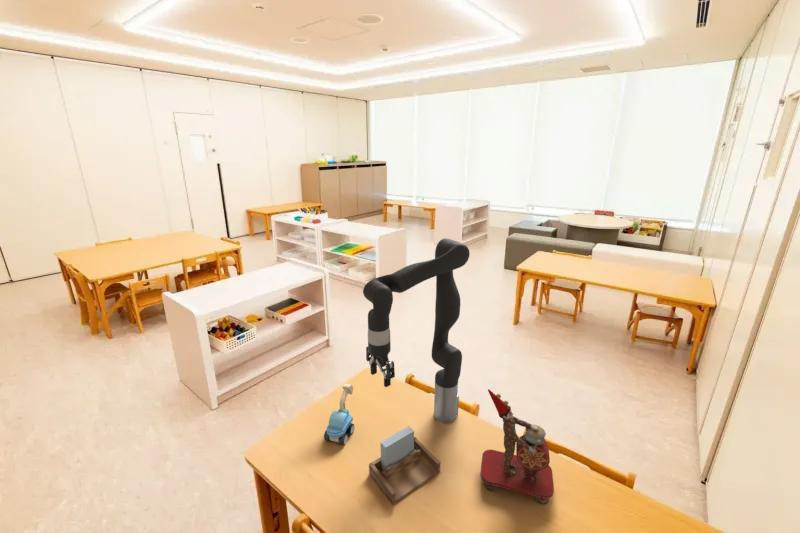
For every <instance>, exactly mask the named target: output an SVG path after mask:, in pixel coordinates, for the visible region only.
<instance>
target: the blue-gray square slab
mask: <svg viewBox="0 0 800 533" xmlns="http://www.w3.org/2000/svg"><path fill="white" fill-rule="evenodd" d="M414 437H415V431H414V430H413V428H412V427H410V426H409V425H408V426H406V427H405V428H402V429H401V430H400V431H397V432H396V433H394V434H391V435H390V436H389V437H387V438H385V439H384V440H381V441H380V457H381V469H382V470H383V471H384V470H386V469H385V468H387V467H388V466H390V465H392V464H396V463H397V462H399V461H400V460H402V459H404V458H405V457H407V456H409V453H411V452H413V451H414Z"/></svg>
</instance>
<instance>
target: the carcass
mask: <svg viewBox="0 0 800 533" xmlns="http://www.w3.org/2000/svg"><path fill="white" fill-rule="evenodd" d="M385 469H386V470H384V471H383V470H382V469H381V456H380V457H378V458H377V459H375V460H373V461H372V462H370V463H369V464H368V474H369V475H370V477H371V478H372V479H373V481H374V482H375V483H376V485H377V486H378V488H379V489H380V490H381V492H382V493H383V494H384V495H385V497H386V498H387V500H388V501H389V502H390V504H391V505H392V506H393V505H396V504H397V503H398V502H399V501H401V500H402V499H403V498H405V497H406V496H408V495H409V494H411V493H412V492H413V491H416V489H418V488H420V487H421V486H422V485H424V484H426V482H428V481H429V480H431V479H433V478H434V477H435V476H437V475H438V474H440V473H441V462H440V460H439V459H437V457H436V456H434V455H433V453H432V452H430V450H429V449H428V448H427V447H425V445H424V444H423V443H422V442H420V440H419V439H418V438H417V437H416V436H414V451H413V452H411V453H409V456H407V457H405V458H404V459H402V460H400V461H399V462H397V463H396V464H392V465H390V466H388V467H387V468H385Z"/></svg>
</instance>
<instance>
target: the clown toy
mask: <svg viewBox="0 0 800 533" xmlns="http://www.w3.org/2000/svg"><path fill="white" fill-rule="evenodd" d="M487 392H488V395H489V396H490V398H491V400H492V402H493V406H495V410H496V411H497V414H498V416H499V418H501V419H502V422H503V424H502V426H503V427H502V428H503V429H502V430H503V435H504V437H503V446H504V451H500V450H494V449H486V450H484V451H483V452H482V456H481V466H480V475H479V476H480V477H481V480H482V481H483V482H484V483H483V487H484V489H486V490H487V491H490V492H493V491H495V490H496V488H497V487H500V488H503V489H507V490H512V491H516V492H518V493H523V494H527V495H530V496H535V501H536V502H537V504H540V505H547V504H548V503H549V499H550V498H552V497H553V495H554V492H555V487H554V486H555V485H554V477H553V475H554V474H553V470H552V467H551V466H550V460H551V458H550V450H549V445H548V442H547V441H546V439H545V438H546V435H547V434H546V430H545V429H544V428H543V427H541V426H540V425H537V424H532V423H529V422H527V421H525V420H522V419H520V418H518V417H516V416H513V415H514V413H513V412H512V408H511V405H509V401H508V400H504V401H503V399H501V397H502V396H501V394H500V393H497V394H495V393H494V392H493V391H491V390H490V389H487ZM516 425H519V426H521V427H524V428H525V434H523V435H521V436H518V434H517V430H516ZM515 450H516V451H515Z"/></svg>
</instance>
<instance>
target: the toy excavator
mask: <svg viewBox="0 0 800 533" xmlns="http://www.w3.org/2000/svg"><path fill="white" fill-rule="evenodd" d="M342 389H343V390H342V394H341V396H340V400H339V409H338V410H333V411H332V412H331V414H330V417H329V420H328V425H327V427H326V430H325V432H324V434H323V440H324V441H326V442H330V441H332V442H335V443H338V444H339V445H343V446H346V443H347V441H348V439H349V435H353V433H354V431H355V428H356V427H355V423H353V420H354V418H353V417H354V416H353V415H352V414H350V411H349V409H346V401H347V397H348V395H353V392H354V387H353V385H352V384H349V383H343V384H342Z"/></svg>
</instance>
